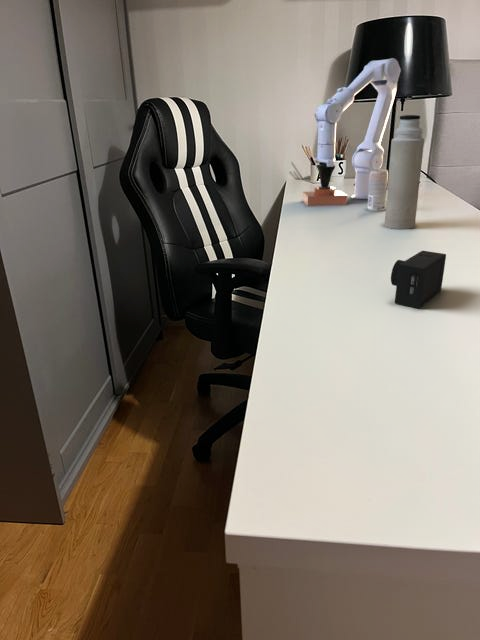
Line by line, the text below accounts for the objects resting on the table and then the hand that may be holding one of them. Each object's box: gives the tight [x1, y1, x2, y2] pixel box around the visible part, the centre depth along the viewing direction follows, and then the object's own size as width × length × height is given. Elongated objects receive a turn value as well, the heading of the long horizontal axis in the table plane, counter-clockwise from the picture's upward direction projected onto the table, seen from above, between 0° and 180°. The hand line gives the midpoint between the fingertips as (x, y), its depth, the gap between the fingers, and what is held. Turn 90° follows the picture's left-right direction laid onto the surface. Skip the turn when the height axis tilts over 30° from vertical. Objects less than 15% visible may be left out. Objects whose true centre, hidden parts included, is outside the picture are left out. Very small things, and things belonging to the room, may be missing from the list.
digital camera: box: [390, 250, 447, 310], centre depth 86 cm, size 10×5×7 cm, turn 141°
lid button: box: [318, 185, 332, 189], centre depth 169 cm, size 4×4×2 cm
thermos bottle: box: [383, 114, 425, 230], centre depth 131 cm, size 8×8×28 cm
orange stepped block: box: [302, 186, 348, 207], centre depth 169 cm, size 13×10×5 cm
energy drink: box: [366, 168, 389, 212], centre depth 155 cm, size 5×5×12 cm
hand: (324, 186), depth 168 cm, fingers closed, pressing on lid button
